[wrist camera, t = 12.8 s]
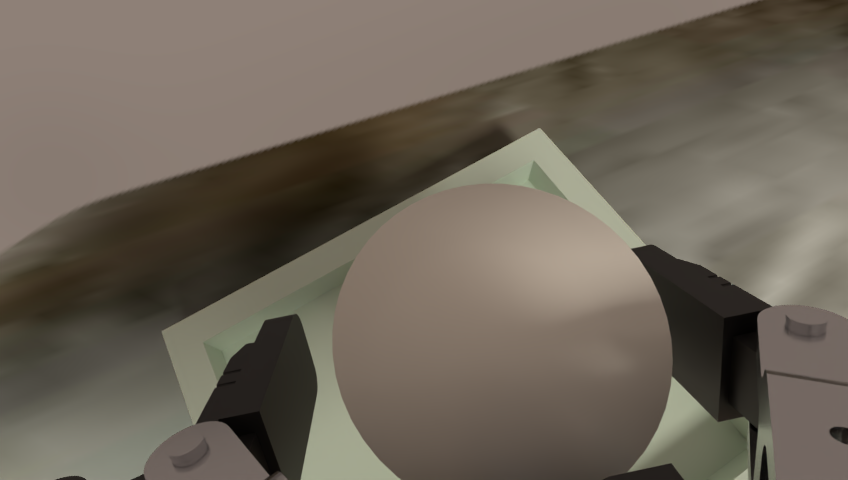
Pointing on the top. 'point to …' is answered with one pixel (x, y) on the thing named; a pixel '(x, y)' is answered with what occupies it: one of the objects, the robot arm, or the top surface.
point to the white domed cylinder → (501, 341)
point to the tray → (315, 305)
